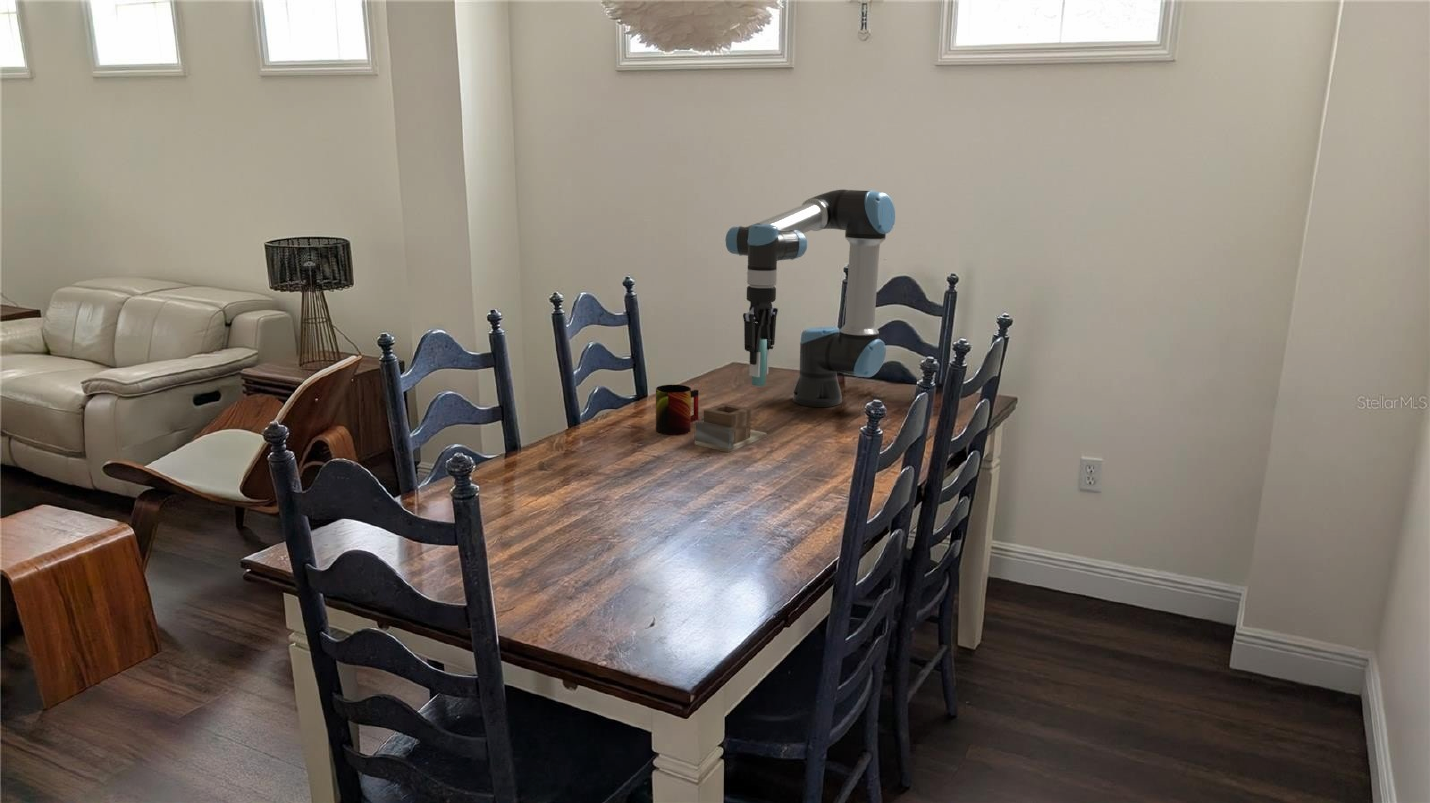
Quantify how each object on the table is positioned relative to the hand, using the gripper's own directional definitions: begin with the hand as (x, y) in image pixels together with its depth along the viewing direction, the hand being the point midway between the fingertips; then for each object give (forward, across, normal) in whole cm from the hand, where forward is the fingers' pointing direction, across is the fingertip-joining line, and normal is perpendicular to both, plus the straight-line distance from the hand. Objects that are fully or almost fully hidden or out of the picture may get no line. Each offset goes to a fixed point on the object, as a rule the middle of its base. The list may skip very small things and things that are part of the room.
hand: (758, 374), depth 263 cm
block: (+18, +4, -7) cm, 20 cm away
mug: (+19, +2, -26) cm, 32 cm away
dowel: (+3, 0, 0) cm, 3 cm away
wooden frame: (+19, +2, -7) cm, 20 cm away
